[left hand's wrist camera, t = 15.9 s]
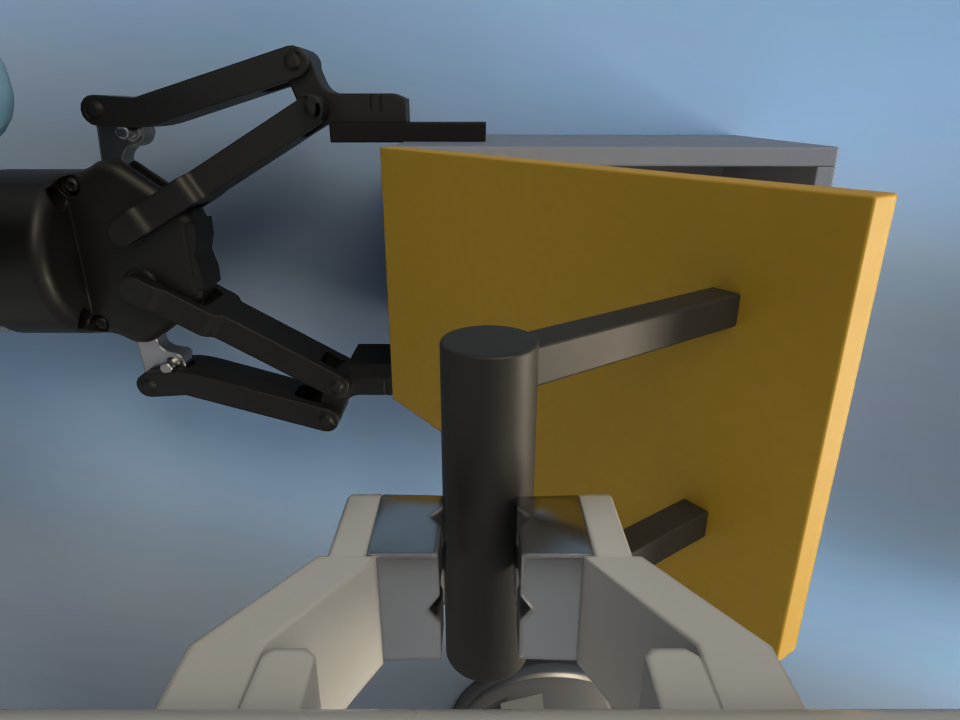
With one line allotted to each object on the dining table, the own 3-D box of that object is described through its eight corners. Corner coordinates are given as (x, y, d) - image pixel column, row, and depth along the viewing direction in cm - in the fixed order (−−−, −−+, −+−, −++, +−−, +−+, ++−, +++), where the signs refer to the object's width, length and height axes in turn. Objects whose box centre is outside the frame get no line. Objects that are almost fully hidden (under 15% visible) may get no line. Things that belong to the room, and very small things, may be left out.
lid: (899, 193, 11) (571, 242, 7) (796, 649, 15) (539, 860, 11) (399, 146, 24) (182, 154, 20) (409, 393, 28) (226, 443, 24)
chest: (736, 135, 34) (840, 146, 24) (711, 317, 38) (793, 394, 28) (420, 134, 35) (391, 146, 24) (425, 316, 38) (402, 391, 28)
